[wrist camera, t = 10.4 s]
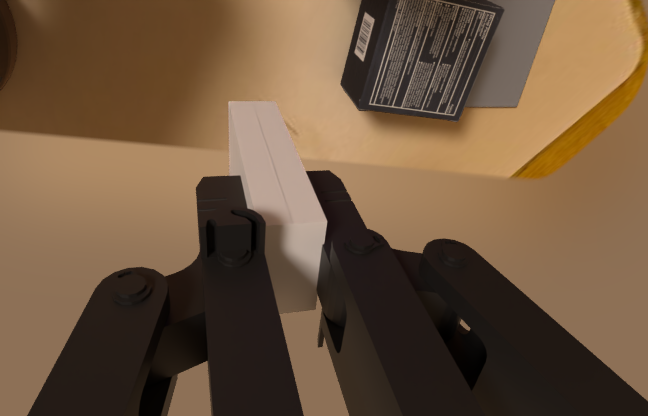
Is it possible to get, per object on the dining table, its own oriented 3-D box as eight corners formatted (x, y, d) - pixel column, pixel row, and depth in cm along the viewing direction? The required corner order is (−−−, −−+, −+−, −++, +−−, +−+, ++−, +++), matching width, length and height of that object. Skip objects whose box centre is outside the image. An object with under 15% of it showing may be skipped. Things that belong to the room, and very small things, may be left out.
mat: (355, 105, 48) (356, 107, 48) (383, -76, 39) (385, -76, 38) (514, 105, 53) (516, 106, 53) (571, -56, 44) (574, -56, 44)
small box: (337, 84, 46) (430, 99, 49) (356, 111, 41) (459, 126, 44) (368, -34, 40) (471, -8, 44) (394, -19, 35) (509, 9, 38)
